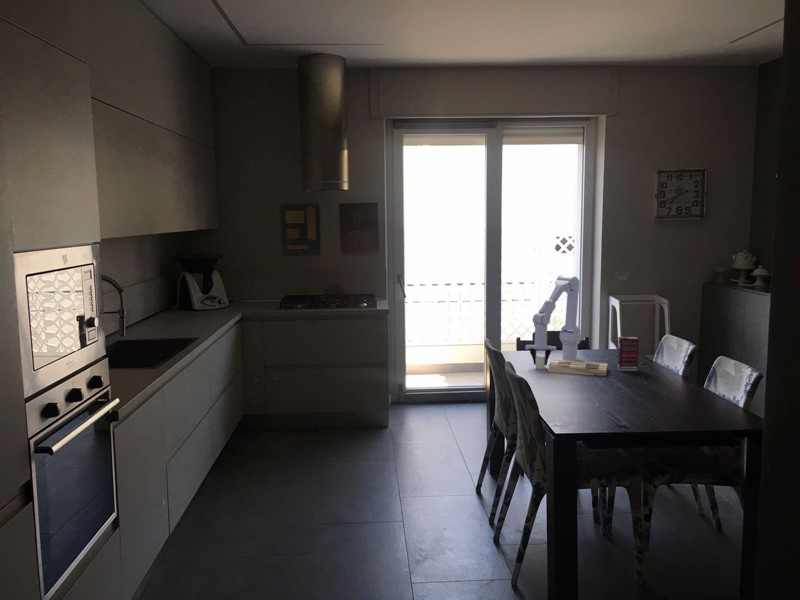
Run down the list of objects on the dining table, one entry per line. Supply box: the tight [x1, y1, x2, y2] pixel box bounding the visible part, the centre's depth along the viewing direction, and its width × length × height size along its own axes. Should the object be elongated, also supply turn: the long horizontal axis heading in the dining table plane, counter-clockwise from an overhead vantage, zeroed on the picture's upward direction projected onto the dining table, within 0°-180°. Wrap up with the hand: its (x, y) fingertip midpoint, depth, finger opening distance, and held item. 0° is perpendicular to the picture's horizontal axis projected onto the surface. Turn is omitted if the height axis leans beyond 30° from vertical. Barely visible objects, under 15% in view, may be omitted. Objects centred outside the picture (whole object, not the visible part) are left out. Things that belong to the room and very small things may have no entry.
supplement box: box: [617, 336, 639, 372], centre depth 306 cm, size 9×5×16 cm, turn 84°
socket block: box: [548, 358, 609, 377], centre depth 306 cm, size 14×26×3 cm, turn 69°
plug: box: [535, 354, 546, 370], centre depth 313 cm, size 4×4×6 cm
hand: (540, 364), depth 313 cm, fingers open, 5 cm apart
